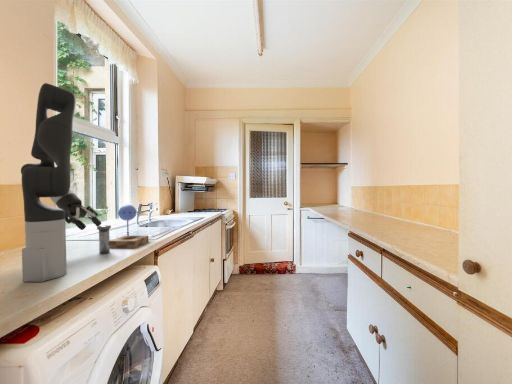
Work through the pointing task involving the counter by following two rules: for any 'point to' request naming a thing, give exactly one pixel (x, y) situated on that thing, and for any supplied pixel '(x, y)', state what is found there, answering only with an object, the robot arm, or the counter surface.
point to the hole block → (128, 241)
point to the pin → (104, 239)
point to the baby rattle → (127, 213)
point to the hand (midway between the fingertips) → (92, 226)
